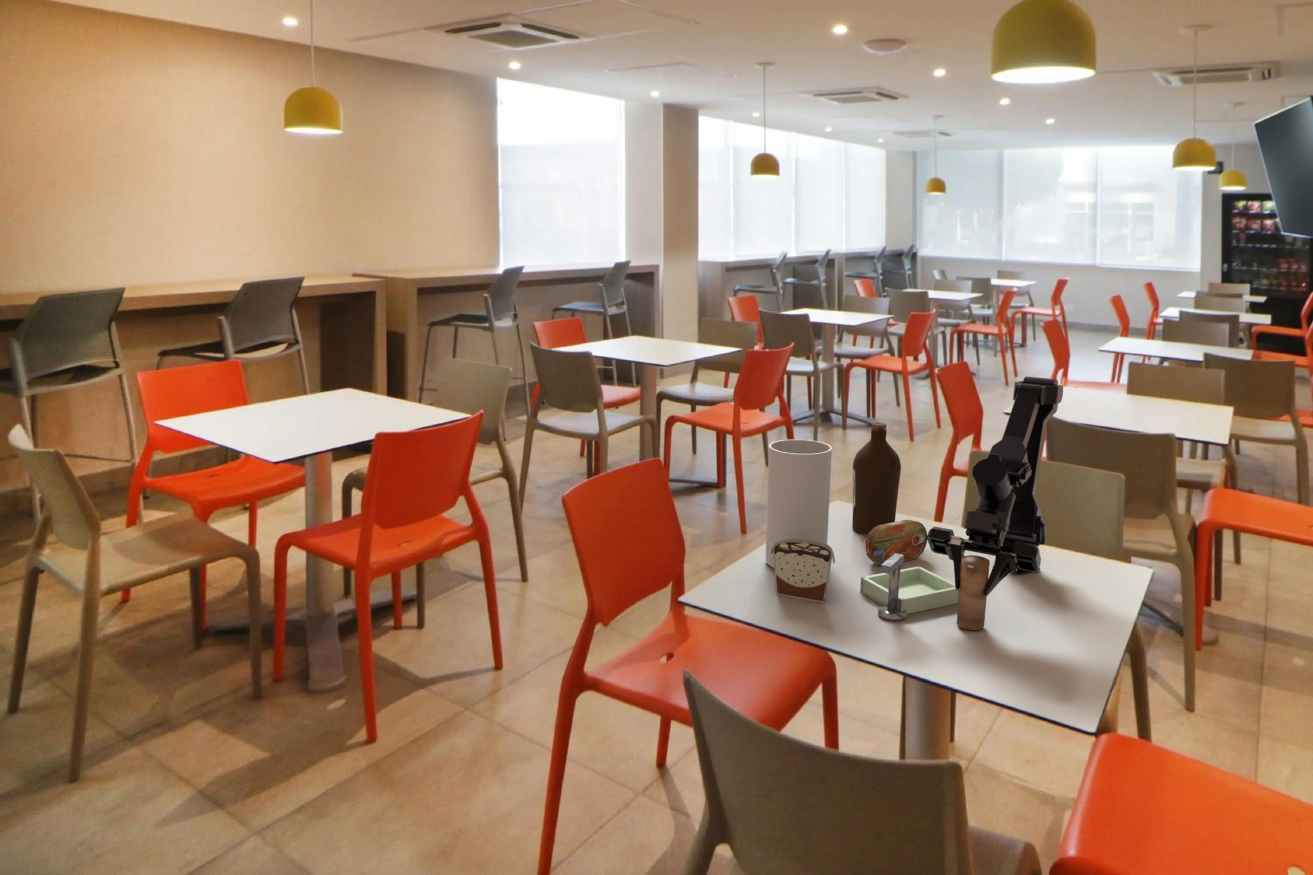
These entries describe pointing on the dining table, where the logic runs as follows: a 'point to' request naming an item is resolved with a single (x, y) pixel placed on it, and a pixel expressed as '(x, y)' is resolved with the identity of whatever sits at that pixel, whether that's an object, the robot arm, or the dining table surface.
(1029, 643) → the dining table surface
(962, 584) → the brown coffee tumbler
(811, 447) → the cylinder vase
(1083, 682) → the dining table surface
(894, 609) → the t stake
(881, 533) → the tin
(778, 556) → the food container
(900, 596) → the tray
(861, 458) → the olive oil
